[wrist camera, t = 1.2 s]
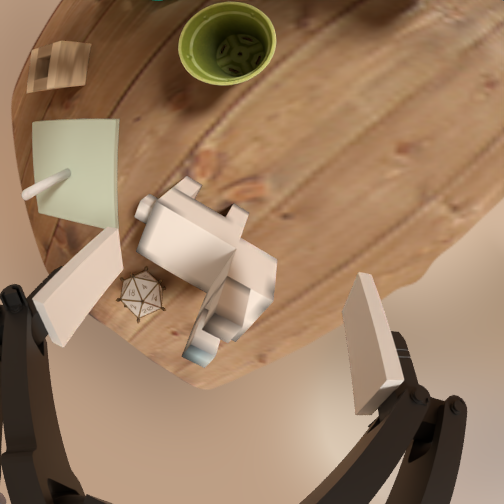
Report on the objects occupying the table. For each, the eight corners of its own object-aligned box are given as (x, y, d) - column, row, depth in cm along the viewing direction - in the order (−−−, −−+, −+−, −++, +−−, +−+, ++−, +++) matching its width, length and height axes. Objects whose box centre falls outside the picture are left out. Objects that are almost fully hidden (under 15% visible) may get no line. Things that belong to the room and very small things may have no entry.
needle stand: (36, 121, 33) (-13, 136, 23) (119, 118, 33) (64, 132, 23) (41, 210, 42) (1, 239, 32) (118, 228, 42) (77, 267, 32)
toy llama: (171, 167, 36) (80, 231, 19) (279, 231, 39) (269, 340, 22) (153, 209, 40) (72, 290, 22) (252, 267, 43) (227, 378, 25)
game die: (162, 261, 49) (168, 272, 40) (167, 305, 50) (174, 325, 41) (115, 265, 45) (110, 278, 36) (121, 310, 47) (119, 332, 38)
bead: (61, 50, 26) (32, 50, 21) (91, 43, 26) (61, 40, 20) (56, 89, 30) (26, 93, 24) (85, 85, 30) (54, 87, 24)
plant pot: (263, 99, 30) (256, 97, 23) (193, 79, 29) (165, 74, 22) (289, 35, 25) (290, 15, 18) (217, 17, 25) (197, -5, 17)
